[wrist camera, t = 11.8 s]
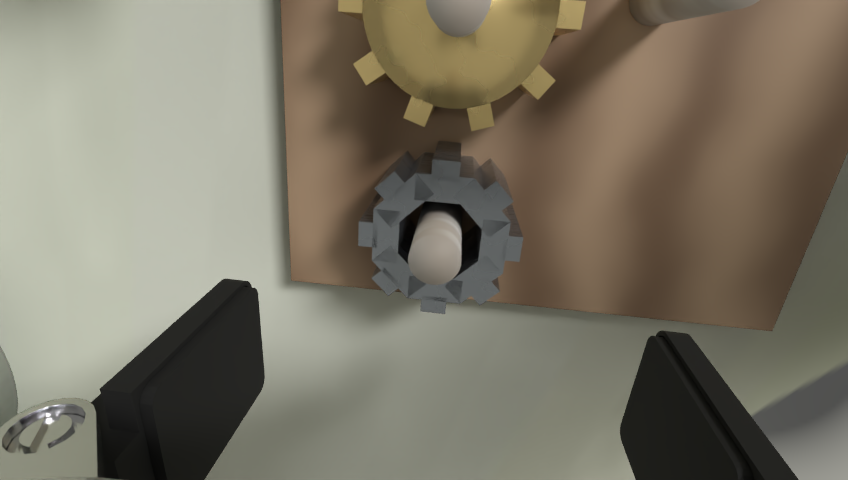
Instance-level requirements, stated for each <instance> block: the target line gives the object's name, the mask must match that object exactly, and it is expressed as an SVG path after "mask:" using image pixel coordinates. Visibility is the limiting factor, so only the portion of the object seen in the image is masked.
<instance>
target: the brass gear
mask: <svg viewBox="0 0 848 480" xmlns="http://www.w3.org/2000/svg"><path fill="white" fill-rule="evenodd" d="M585 5H586V1H577V0H491V5H490V9H489V11H488V13H487V15H486V17H485V19H484V21H483V23H482V25H481V26H480V27H479V28H478V29H477V30H476V31H475V32H474V33H472V34H470V35H468V36H465V37H452V36H449V35H447V34H445V33H444V32H442V31H441V30H440V29H439V28H438V27H437V25H436V24H435V22H434V21H433V20H432V18H431V16H430V14H429V12H428V9H427V5H426V0H338V11H339V12H341V13H344V14H346V15H349V16H351V17H353V18H356V19H358V20H361V21H363V22H364V28H365V31H366V35H367V39H368V42H369V44H370V47H371V49H372V51H371V52H369V53H368V54H367V55H365V56H364V57H362V58H361V59H359V60H358V61H357V62H355V63H354V64H353V65H354V67H355V68H356V70H357V71H358V73H359V75H360V76H361V78H362V79H363V81H364V83H365V84H366V86H367V85H371V84H375V83H379V82H383V81H385V80H386V79H388V78H389V77H390V79H391V80H392V81H393V82H394V83H395V84H396V85H397V86H399V87H400V88H401V89H402V90H404V91H405V92H406V93H408V94H409V95H411V99H410V101H409V104H408V107H407V109H406V112H405V115H404V117H403V118H405V119H407V120H409V121H412V122H414V123H416V124H419V125H421V126H423V127H425V126H426V124H427V122H428V121H429V119H430V117H431V115H432V113H433V111H434V108H435V106H437V107H443V108H450V109H464V108H467V111H468V116H469V121H470V126H471V131H475V130H479V129H483V128H487V127H492V126H494V120H493V115H492V109H491V104H490V102H493V101H495V100H498V99H499V98H501V97H503V96H505V95H507V94H508V93H510V92H511V91H512V90H514V89H515V88H516V87H519V88H520V89H521V90H522V91H523V92H524V93H525V94H527V95H529V96H531V97H533V98H535V99H537V100H538V99H539V98H540V97H541V96H542V95H543V94H544V93H545V92H546V91H547V90H548V88H549V87H550V86H551V85H552V84H553V83H554V82H555V81H556V80H555V79H554V78H553V77H552V76H551V75H549V74H548V73H547V72H546V71H545V70H544V69H543V68H542V67H541V66H540V65H539V62H540V61H541V59H542V58H543V56H544V55H545V53H546V51H547V49H548V47H549V45H550V43H551V40H552V37H553V35H554V36H560V35H564V34H567V33H571V32H575V31H578V30H581V26H582V21H583V16H584V10H585Z"/></svg>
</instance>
